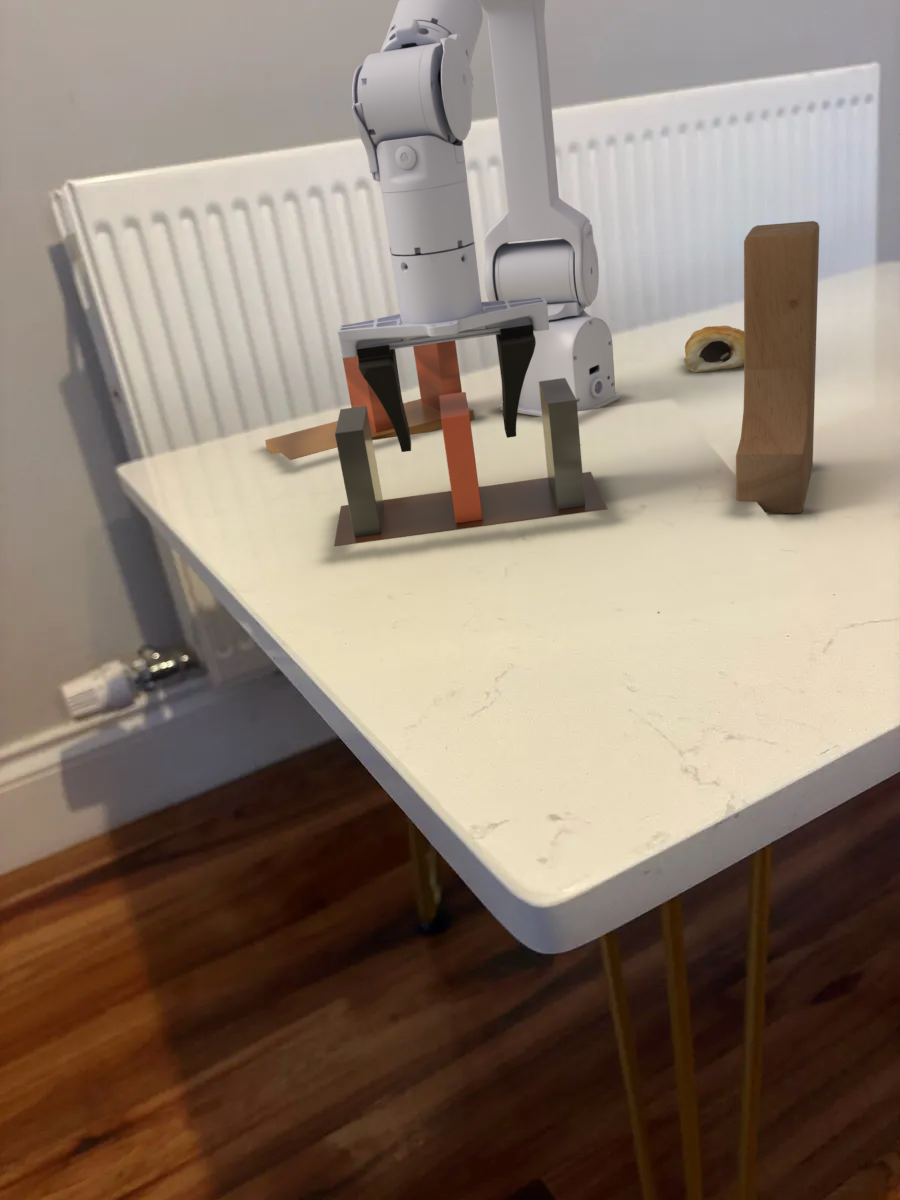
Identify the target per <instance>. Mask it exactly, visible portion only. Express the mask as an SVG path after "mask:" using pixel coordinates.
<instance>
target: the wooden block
mask: <svg viewBox="0 0 900 1200" xmlns="http://www.w3.org/2000/svg"><path fill="white" fill-rule="evenodd" d="M819 251H820V224H819V223H818V222H817V221H815V220H811V221H809V220H808V221H797V222H784V223H773V224H761V225H760V224H759V225H756V226H753V227H752V228H751V229H750V230H749V232H748V234H747V235H746V236H745V237H744V241H743V328H744V329H743V331H744V365H743V367H744V368H743V371H744V373H743V377H744V378H743V380H744V381H743V386H744V387H743V409H742V411H743V412H742V423H741V432H740V439H739V443H738V446H737V450H736V455H735V498H736V501H737V502H742V503H756V504H757V505H758V506H759V507H760V508H761V510H762V511H763V512H764V513H779V514H780V513H781V514H782V513H784V514H798V513H802V511H803V510H804V506H805V502H806V498H807V494H808V489H809V484H810V479H811V475H812V471H813V470H812V469H813V464H814V436H815V435H814V433H815V400H816V399H815V398H816V396H815V395H816V394H815V393H816V362H817V361H816V360H817V359H816V358H817V328H818V327H817V325H818V287H819V260H820V259H819V257H820V253H819Z"/></svg>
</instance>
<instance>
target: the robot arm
mask: <svg viewBox="0 0 900 1200" xmlns="http://www.w3.org/2000/svg"><path fill="white" fill-rule="evenodd" d="M545 9H546V0H398V3H397V5H396V8H395V11H394V13H393V16H392V19H391V21H390V25H389V27H388V30H387V33H386V36H385V38H384V41H383V44H382V46H381V49H380V51H379V52H375V53H369V54H368V55H367V56H366V57H365V58H364V62H363V64H362V63H361V64H359V65H358V66H357V67H356V69H355V71H354V73H353V78H352V86H351V87H352V88H351V96H352V105H351V110H352V115H353V120H354V124H355V127H356V131H357V133H358V135H359V139H360V140H361V142H362V144H363V146H364V149H365V152H366V156H367V161H368V169H369V172H370V174H371V177H372V179H373V181H375V182H379V187H380V192H381V199H382V207H383V212H384V218H385V227H386V232H387V239H388V243H389V244H388V245H389V252H390V258H391V259H390V260H391V264H392V272H393V278H394V285H395V292H396V297H397V304H398V310H399V311H398V312H399V313H396V314H391V315H387V316H382V317H378V318H373V319H368V320H362V321H358V322H353V323H347V324H340V325H339V326H338V328H337V331H336V333H337V337H338V338H337V339H338V344H339V349H340V354H341V359H343V358H350V357H356V356H357V355H358V361H359V366H358V367H359V370H360V372H361V374H362V375H363V377H364V379H365V380H366V381H367V383H368V384H369V385H370V387H371V388H372V390H373V391H374V393H375V394H376V396H377V397H378V399H379V400H380V402H381V404H382V405H383V407H384V409H385V411H386V413H387V415H388V417H389V419H390V421H391V423H392V425H393V427H394V430H395V432H396V435H397V437H396V438H397V440H398V443H399V447H400V450H401V453H406V452H411V451H412V439H411V435H410V431H409V426H408V421H407V417H406V413H405V409H404V405H403V403H404V400H403V395H402V389H401V383H400V375H399V368H398V361H397V353H396V349H405V348H412V347H413V346H419V345H426V344H433V343H441V342H448V341H455V342H456V341H460V340H469V339H476V338H481V337H489V336H495V340H496V347H497V348H496V349H497V356H498V363H499V364H498V365H499V371H500V379H501V397H502V398H501V400H502V403H500V404H498V405H497V408H498V409H497V410H499V411H502V421H503V427H504V432H505V437H506V438H508V439H509V438H515V437H517V421H518V420H517V419H518V414H522V415H529V416H533V417H541V418H542V410H541V399H540V389H539V382H540V381H546V380H553V379H560V378H565V379H566V381H567V382H568V384H569V386H570V388H571V390H572V392H573V394H574V396H575V398H576V400H577V410H578V413H579V412H586V411H593V410H598V409H599V408H602V407H604V406H606V405H609V404H610V403H613V402H615V401H616V400H619V399H621V398H622V394H621V393H620V392H617V391H616V381H615V377H616V376H615V364H614V347H613V346H614V345H613V337H612V332H611V330H610V328H609V325H608V324H607V322H605V320H604V319H602V318H599V317H596V316H593V315H590V314H588V312H586V311H585V309H586V308H589V307H590V306H591V305H592V304H593V302H594V301H595V300H596V298H597V295H598V290H599V280H600V272H599V271H600V270H599V268H600V267H599V257H598V251H597V247H596V243H595V240H594V233H593V232H594V231H593V230H594V229H593V225H592V223H591V219H589V217H587V216H586V215H585V214H584V213H582V212H581V211H580V210H578V209H576V208H574V207H573V206H572V205H570V204H568V203H566V202H565V201H564V200H563V199H561V197H560V194H559V193H560V192H559V181H558V179H559V178H558V168H557V157H556V145H555V144H556V143H555V132H554V122H553V120H554V119H553V108H552V96H551V84H550V73H549V72H550V71H549V59H548V47H547V36H546V25H545V23H546V22H545ZM483 10H484V11H485V13H486V17H487V26H488V37H489V45H490V55H491V56H490V57H491V66H492V74H493V84H494V93H495V102H496V103H495V105H496V112H497V121H498V122H497V123H498V131H499V132H498V133H499V141H500V151H501V152H500V153H501V161H502V171H503V178H504V179H503V180H504V186H505V187H504V188H505V198H506V207H507V209H506V210H505V211H504V212H503V213H502V214H501V215H500V216H499V217H498V218H497V219H496V220H495V221H494V222H493V223H492V224H491V225H490V227H489V228H488V230H487V231H486V234H485V236H484V240H483V244H484V245H483V246H484V264H483V267H484V268H483V278H484V279H483V281H484V290H485V294H486V298H487V301H482V294H481V286H480V278H479V276H480V275H479V269H478V261H477V251H476V242H475V236H474V235H475V234H474V228H473V227H474V226H473V217H472V209H471V201H470V200H471V199H470V192H469V191H470V190H469V184H468V174H467V166H466V165H467V164H466V158H465V157H466V155H465V148H464V141H465V140H466V139H467V137H468V135H469V133H470V130H471V128H472V121H473V120H472V119H473V117H472V116H473V97H472V95H473V87H474V84H473V83H474V77H473V73H472V68H471V63H472V59H473V56H474V52H475V49H476V46H477V42H478V39H479V36H480V32H481V29H482V25H483V18H484V15H483Z"/></svg>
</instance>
